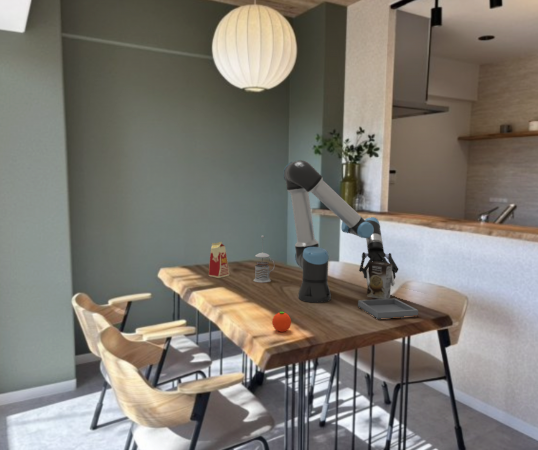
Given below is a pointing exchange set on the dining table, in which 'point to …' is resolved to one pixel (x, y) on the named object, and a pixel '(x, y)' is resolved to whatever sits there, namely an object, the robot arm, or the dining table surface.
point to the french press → (260, 266)
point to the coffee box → (379, 280)
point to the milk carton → (218, 261)
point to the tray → (387, 308)
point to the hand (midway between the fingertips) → (380, 284)
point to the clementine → (281, 322)
